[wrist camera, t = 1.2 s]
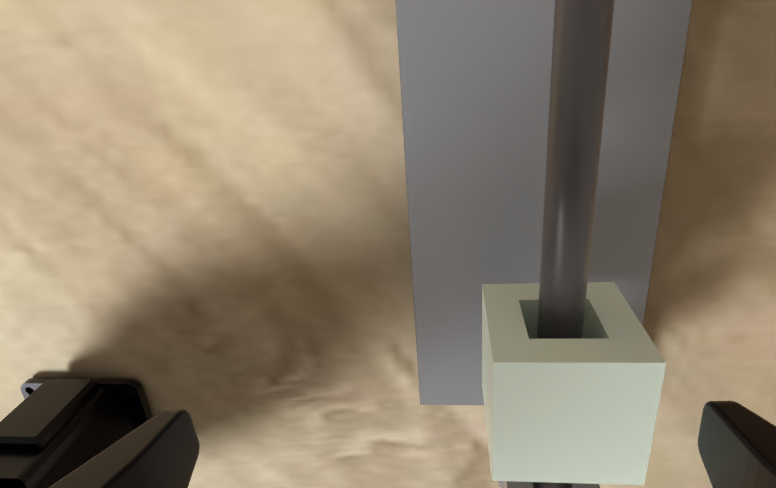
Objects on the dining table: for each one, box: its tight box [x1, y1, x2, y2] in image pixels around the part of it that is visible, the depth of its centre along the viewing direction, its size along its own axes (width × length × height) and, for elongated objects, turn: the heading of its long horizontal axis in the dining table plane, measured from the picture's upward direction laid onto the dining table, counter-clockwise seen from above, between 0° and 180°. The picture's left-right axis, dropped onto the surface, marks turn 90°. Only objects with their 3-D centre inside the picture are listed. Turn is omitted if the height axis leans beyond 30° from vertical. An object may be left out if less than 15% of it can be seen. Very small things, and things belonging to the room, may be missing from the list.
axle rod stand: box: [396, 0, 692, 488], centre depth 15 cm, size 22×9×9 cm, turn 4°
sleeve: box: [482, 282, 666, 485], centre depth 15 cm, size 4×4×4 cm
